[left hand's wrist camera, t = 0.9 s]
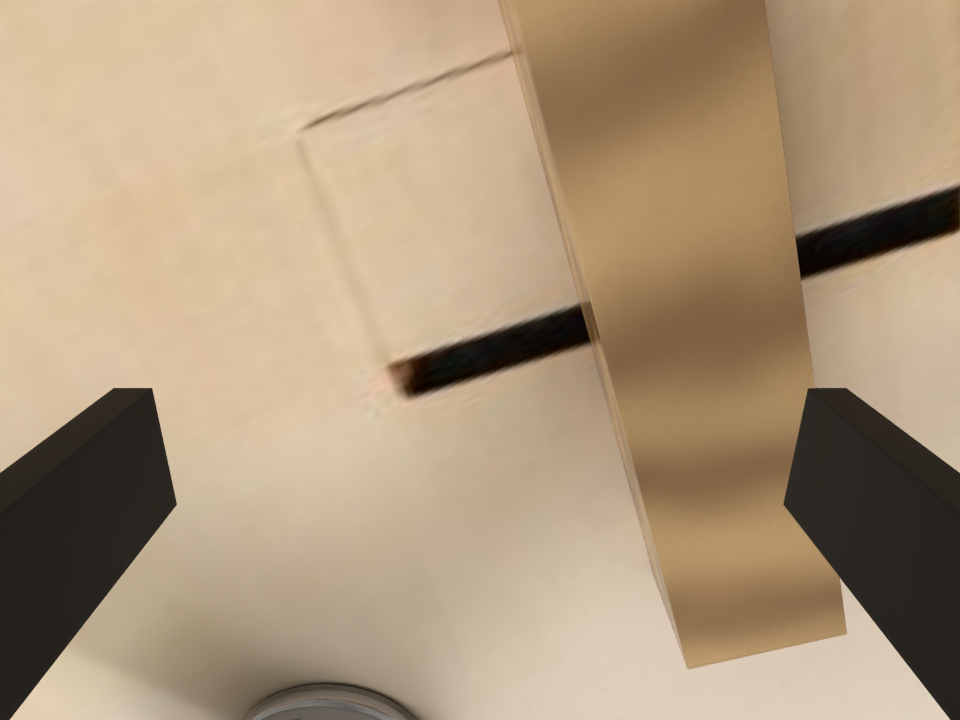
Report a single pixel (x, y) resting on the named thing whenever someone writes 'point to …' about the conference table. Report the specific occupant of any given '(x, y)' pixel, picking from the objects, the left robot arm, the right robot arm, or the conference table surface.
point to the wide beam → (687, 296)
